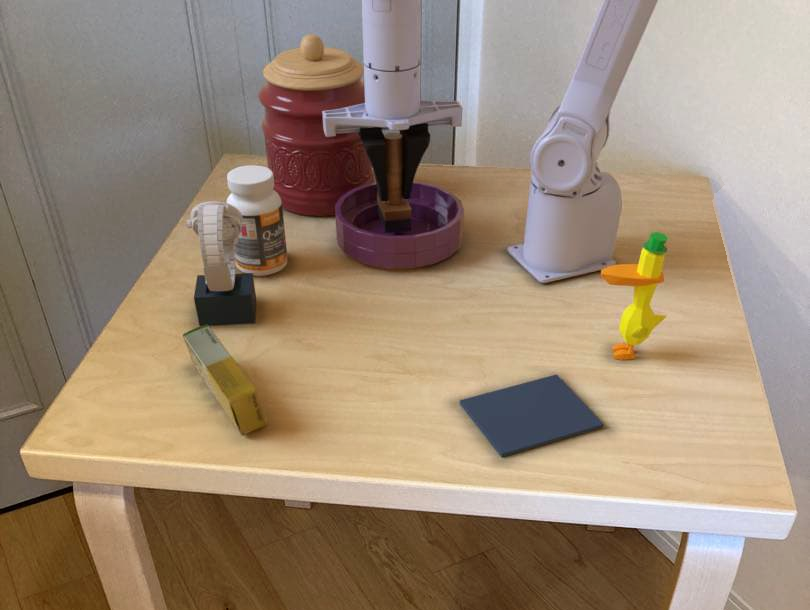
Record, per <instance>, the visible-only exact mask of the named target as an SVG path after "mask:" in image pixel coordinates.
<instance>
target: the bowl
mask: <svg viewBox="0 0 810 610" xmlns="http://www.w3.org/2000/svg"><path fill="white" fill-rule="evenodd" d="M377 193H378V190H377V184H376V181H374V183H370V184H365V185H363V186H360V187H357V188H355V189H352V190H350V191H349V192H347V193H346V194H344V195H343V196H341V197H340V199H339V200H338V202H337V203H336V205H335V216H334V217H335V229H336V230H335V231H336V232H335V233H336V243H337V246H338V248H339V249H340V250H341V251H342V253H343V254H344V255H346V256H348V257H350V258H351V259H353V260H354V261H356V262H359V263H362V264H365V265H368V266H371V267H372V266H373V267H376V268H384V269H385V268H386V269H394V270H395V269H413V268H414V269H416V268H420V267H425V266H431V265H434V264H437V263H439V262H442V261H443V260H446V259H448V258H450V257H451V256H452V255H453V254H455V253H456V252H457V251H458V250H459V249H460V247H461V243H462V241H463V236H464V235H463V232H464V217H465V216H464V215H465V209H464V206H463V202H462V200H461V198H459V197H458V196H456V194H455V193H454V192H452V191H450V190H448V189H445V188H444V187H442V186H439V185H436V184H432V183H427V182H424V181H416V180H414V181H413V184H412V189H411V194H410V199H407V201H408V203H409V206H410V208H411V231H404V232H393V233H385V231H384V228H383V226H382V223H381V221H380V218H379V216H378V207H377V202H378V201H377Z"/></svg>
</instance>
